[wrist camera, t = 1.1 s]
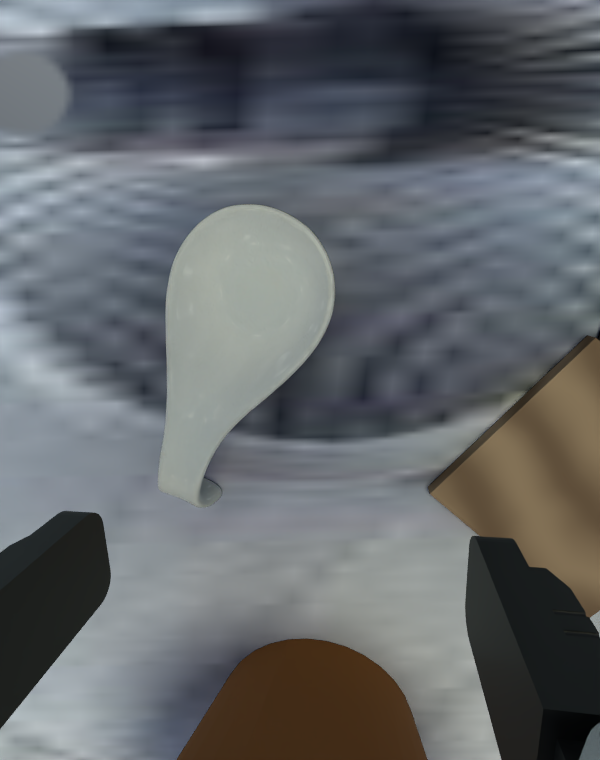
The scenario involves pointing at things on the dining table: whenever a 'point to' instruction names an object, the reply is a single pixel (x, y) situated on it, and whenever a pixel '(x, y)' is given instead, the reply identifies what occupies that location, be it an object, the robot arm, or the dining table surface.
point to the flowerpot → (307, 709)
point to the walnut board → (541, 475)
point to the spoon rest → (235, 331)
